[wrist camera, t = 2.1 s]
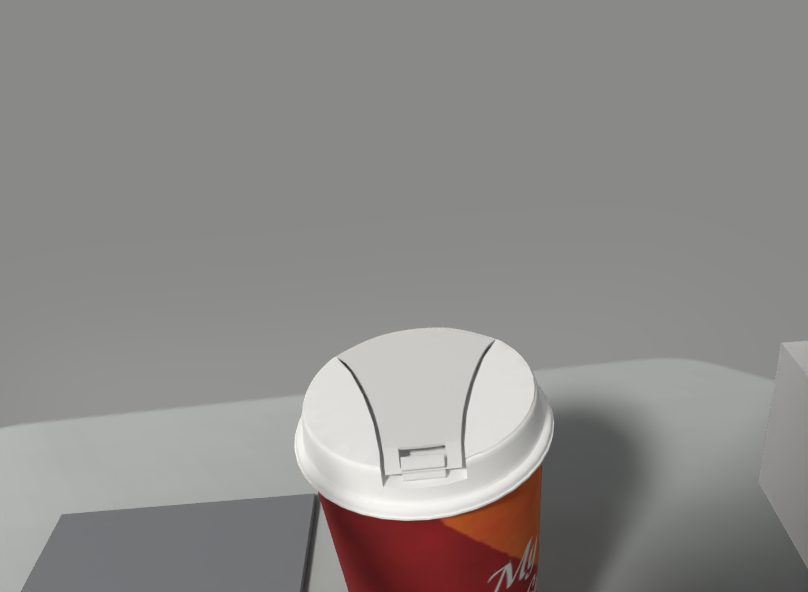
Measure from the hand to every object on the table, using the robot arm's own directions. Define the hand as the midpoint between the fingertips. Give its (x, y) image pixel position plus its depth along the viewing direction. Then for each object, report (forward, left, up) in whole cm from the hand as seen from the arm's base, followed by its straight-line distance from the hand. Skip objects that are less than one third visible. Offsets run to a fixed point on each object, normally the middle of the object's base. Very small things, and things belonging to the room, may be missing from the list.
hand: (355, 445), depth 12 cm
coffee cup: (0, -10, -21) cm, 24 cm away
